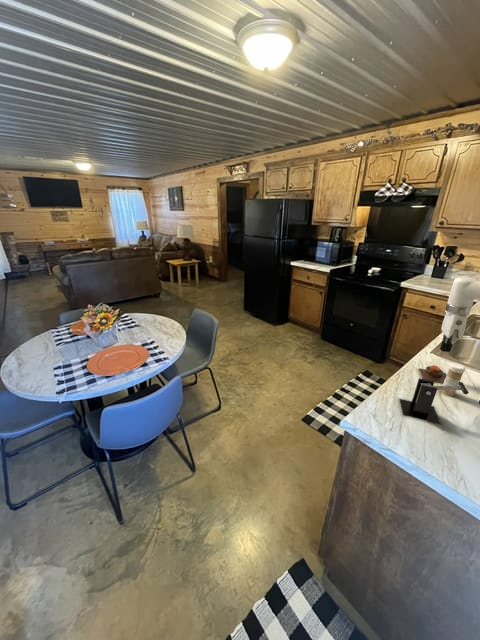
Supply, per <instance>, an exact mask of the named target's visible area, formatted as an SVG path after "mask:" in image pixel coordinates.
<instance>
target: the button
mask: <svg viewBox="0 0 480 640" xmlns="http://www.w3.org/2000/svg"><path fill="white" fill-rule="evenodd" d="M430 366H431V368H430V370H431V371H433V372H436V373H439V370H440V369H441V367H439V366H437V365H433V364H432V365H430Z"/></svg>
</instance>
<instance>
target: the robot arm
mask: <svg viewBox="0 0 480 640" xmlns="http://www.w3.org/2000/svg"><path fill="white" fill-rule="evenodd" d="M475 300H476V301H480V280H478V278H474V277H470V276H459V277H456V278H455V279H454V280H453V282H452V285H451V289H450V292H449V296H448V299H447V303H446V306H445V309H444V312H445V315H444V318H443V321H442V324H441V332H442V333H443V336H442V341H441V343H440V347H439V350H440V351H441V352H446V353H450V352H451V350H452V348H453V344H455V343H456V341H457V339H458V340H459V341H461V340H463V338H464V335H465V330H466V327H467V322H468V316H470V314H471V310H472V307H473V304H474V302H475Z"/></svg>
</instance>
